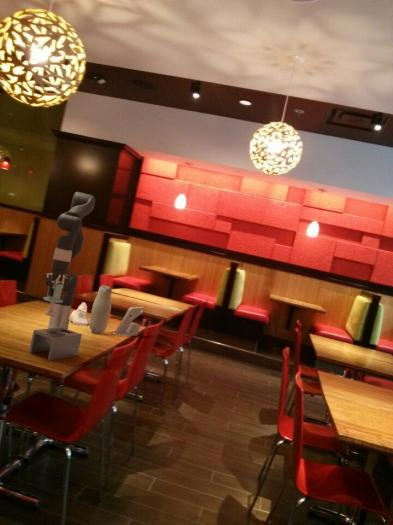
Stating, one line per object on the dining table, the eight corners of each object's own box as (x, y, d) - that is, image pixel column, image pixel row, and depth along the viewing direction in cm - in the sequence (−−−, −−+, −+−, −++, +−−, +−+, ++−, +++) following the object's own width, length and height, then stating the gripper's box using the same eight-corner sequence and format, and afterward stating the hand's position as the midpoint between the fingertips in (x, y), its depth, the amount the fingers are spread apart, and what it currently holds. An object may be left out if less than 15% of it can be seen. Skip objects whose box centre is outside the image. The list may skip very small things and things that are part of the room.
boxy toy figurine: (49, 313, 203) (56, 282, 203) (59, 316, 201) (66, 285, 200) (40, 313, 198) (46, 282, 197) (50, 316, 195) (56, 285, 195)
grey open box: (57, 347, 208) (61, 327, 208) (77, 355, 203) (81, 334, 203) (28, 352, 192) (33, 330, 192) (49, 360, 187) (54, 337, 187)
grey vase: (108, 334, 259) (118, 288, 258) (96, 335, 250) (107, 287, 249) (95, 329, 263) (105, 284, 263) (83, 330, 254) (94, 283, 254)
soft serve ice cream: (88, 325, 280) (98, 305, 279) (83, 331, 265) (93, 310, 264) (71, 316, 279) (80, 296, 278) (64, 321, 264) (74, 301, 263)
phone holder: (126, 330, 281) (132, 303, 280) (139, 334, 277) (145, 307, 276) (110, 332, 265) (116, 303, 265) (124, 337, 261) (130, 307, 260)
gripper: (66, 258, 206) (58, 294, 207) (44, 256, 194) (36, 294, 194) (78, 262, 203) (70, 298, 204) (56, 259, 190) (48, 298, 191)
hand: (54, 296), depth 199 cm, fingers closed on boxy toy figurine, 4 cm apart
